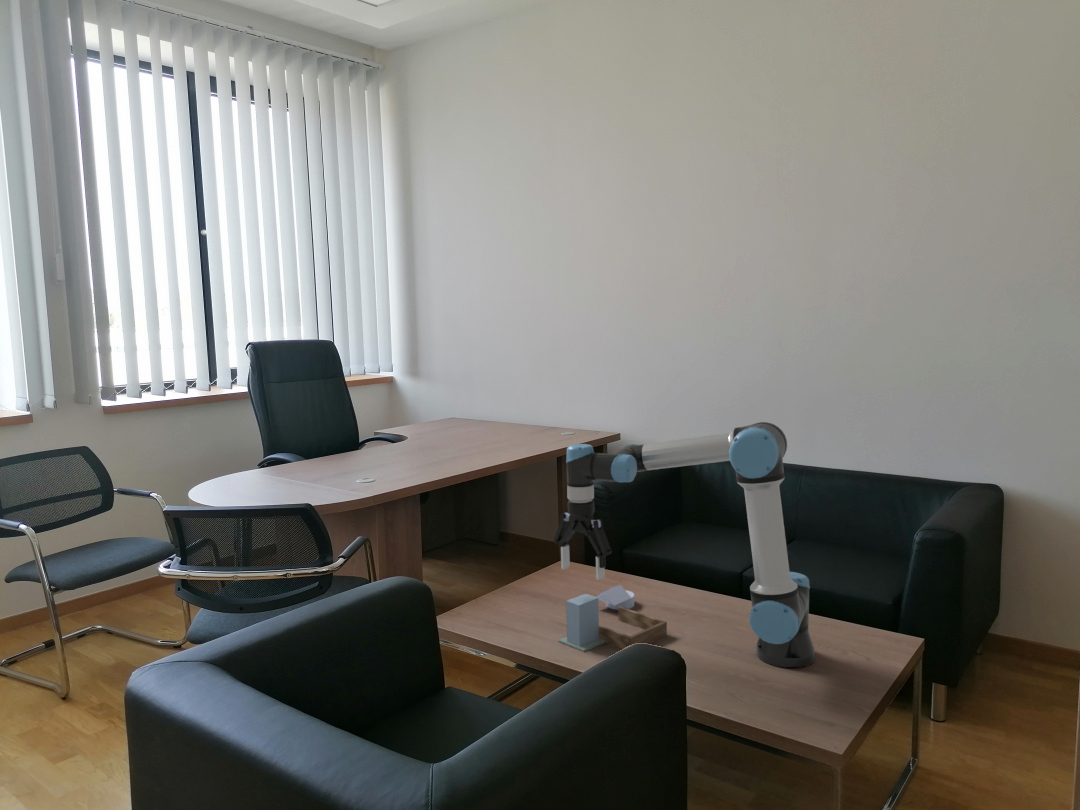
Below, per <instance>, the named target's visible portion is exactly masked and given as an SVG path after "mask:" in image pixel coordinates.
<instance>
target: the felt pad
mask: <svg viewBox="0 0 1080 810" xmlns="http://www.w3.org/2000/svg"><path fill="white" fill-rule="evenodd" d="M557 641H558V642H559V643H560V644H563V645H565V646H568V647H570V648H573V649H575V650H578V651H581V652H582V653H584V652H586V651H590V650H592V649H593V648H595V647H598V646H600V645H603V644H605V643H606V642H605V640H603V639H600V638H598V639H596V640H593V641H591V642H589V643H587V644H584V645H582V646H580V647H579V646H577V645H574V644H572V643H570V642H567V635H566V636H565V637H562V638H559V639H558V640H557Z"/></svg>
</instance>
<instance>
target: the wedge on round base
mask: <svg viewBox="0 0 1080 810" xmlns="http://www.w3.org/2000/svg"><path fill="white" fill-rule="evenodd" d="M595 597H597V598H598V602H603V603H604V604H605V605H606V607H607V608H609V609H612V610H617V611H619V607H624V608H627V609H630V610H631V609H633V608H634V607H635V593H634V592H633V591H630V590H626V589H625V588H624V587H623V586H622V585H621V584H618V585H616V586H613V587H611V588H609V589H606V590H604V591H602V592H600V593H599V594H597V595H595Z"/></svg>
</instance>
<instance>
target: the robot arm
mask: <svg viewBox="0 0 1080 810" xmlns="http://www.w3.org/2000/svg"><path fill="white" fill-rule="evenodd" d="M787 449H788V441H787V437H786V435H785V433H784V431H783V430H782V429H781V428H780V427H779V426H777V425H776V424H774V423H771V422H766V421H759V422H755V423H753V424H749V425H744V426H739V427H734V428H733V429H732V430H731V431H730V432H725V433H724V432H723V433H722V432H721V433H716V434H711V435H703V436H695V437H694V436H693V437H688V438H680V439H672V440H665V441H659V442H653V443H652V442H651V443H644V444H629V445H625V446H624V447H623V448H620V449H618V450H616V451H614V452H612V453H601V452H595V450H594V448H593V445H592V444H587V443H576V444H571V445H569V446H567V447H566V461H565V464H566V487H567V488H566V489H567V490H566V491H567V494H566V495H567V496H566V498H567V499H568V501H567V512H563V513H561V515H560V521H559V524H558V527H557V530H556V533H555V535H554V539H553V542H554V543H555V544H558V545H557V546H559V557H560V563H561V565H560V566H561V570H566V569H568V568H570V567H571V564H570V556H571V555H570V544H569V541H570V540H571V539H572V537H573V536H574V535H575V533H581V534H584V536H585V537H587V538H588V541H589V542H590V544H591V545H592V548H593V550H594V551H595V554H597V555H596V556H595V577H596V578H595V580H597V581H599V580H602V579H604V578H606V577H605V576H606V573H605V570H606V569H605V568H606V567H607V556H609V555H612V553H613V551H612V548H611V546H610V542H609V540H608V537H607V534H606V531H605V529H604V524H603V520H602V519H594V514H595V509H596V508H595V500H594V498H595V485H594V484H595V481H602V482H604V481H605V482H615V483H616V482H617V483H618V484H620V483H631V482H633V481H634V480H635V477H636V476H637V473H641V472H647V471H653V470H660V469H661V470H662V469H670V468H679V467H680V468H681V467H687V466H697V465H704V464H713V463H722V462H730V464H731V466H732V468H733V469H734V471H735V476H736V478H735V479H736V482H737V484H738V485H739V486H740V487H741V488H743V491H744V498H745V499H744V500H745V507H746V509H745V510H746V515H747V516H746V518H747V523H748V531H749V532H748V533H749V534H748V535H749V541H750V548H751V549H750V550H751V555H752V556H751V557H752V565H753V566H752V567H753V573H754V574H753V575H754V581H753V582H752V583H751V585H749V591H750V599H751V600H750V601H751V607H752V608H751V609H750V612H749V617H748V618H749V624H750V628H751V630H752V631H753V633H754V634H755V635H756V636H757V637H758V640H757V643H756V646H755V647H756V650H755V654H756V656H757V658H758V659H759V660H761V661H763V662H764V663H766V664H769V665H771V664H772V666H775V667H779V666H780V667H779V668H786V667H799V668H802V667H801V666H805V667H807V666H806V665H808V664H810V665H812V664H813V663H814V662H815V657H816V651H815V647H814V645H813V641H812V638H811V635H810V632H809V620H810V619H809V618H810V613H809V612H810V589H811V586H810V579H809V577H808V576H807V575H805V574H802V573H799V572H795V571H790V565H789V564H790V563H789V558H788V557H789V556H788V548H787V547H788V546H787V540H786V539H787V538H786V531H785V525H784V524H785V523H784V513H783V506H782V497H781V490H780V489H781V488H780V486H781V484H782V482H783V481H784V480H785V471H784V461H783V460H784V459H783V458H785V455H786V452H787ZM569 523H570V524H569ZM813 661H814V662H813ZM812 662H813V663H812ZM811 663H812V664H811ZM782 666H783V667H782ZM808 666H809V665H808Z"/></svg>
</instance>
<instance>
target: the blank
mask: <svg viewBox="0 0 1080 810" xmlns="http://www.w3.org/2000/svg"><path fill="white" fill-rule="evenodd" d="M565 602H566V603H565V606H566V607H565V609H566V611H565V612H566V615H565V616H566V636H567V642H570V643H572V644H574V645H577V646H579V647H580V646H582V645H584V644H587V643H589V642H591V641H593V640H596V639H598V638H599V625H600V624H599V622H600V621H599V616H600V615H599V612H600V611H599V610H600V609H599V608H600V607H599V600H598V598H597V597H596V596H595V595H591V594H588V593H584V594H581V595H578V596H575V597H572V598H570V599H567V600H566V601H565Z"/></svg>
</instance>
